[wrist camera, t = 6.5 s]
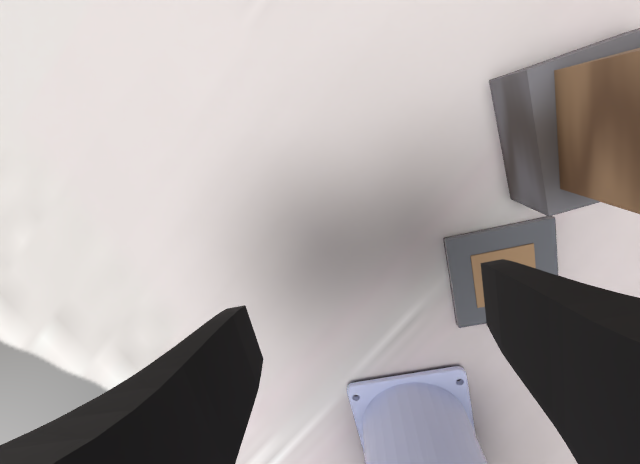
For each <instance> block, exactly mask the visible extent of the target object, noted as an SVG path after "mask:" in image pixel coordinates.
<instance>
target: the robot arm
mask: <svg viewBox="0 0 640 464" xmlns="http://www.w3.org/2000/svg"><path fill="white" fill-rule="evenodd" d="M481 273H482V283H483V293H484V303H485V313H486V323H487V325H488V327H489V329H490V331H491V333H492V335H493V337H494V339H495V341H496V343H497V345H498V346H499V348H500V350H501V352H502V354H503V355H504V356H505V358H506V359H507V361H508V362H509V364H510V365H511V366H512V368H513V369H514V371H515V372H516V373H517V375H518V376H519V378H520V379H521V380H522V382H523V383H524V384H525V386H526V387H527V389H528V390H529V391H530V393H531V394H532V395H533V397H534V398H535V400H536V401H537V402H538V404H539V405H540V407H541V408H542V409H543V411H544V412H545V413H546V415H547V416H548V418H549V419H550V420H551V422H552V423H553V425H554V426H555V428H556V429H557V431H558V432H559V434H560V435H561V437H562V438H563V440H564V441H565V443H566V444H567V446H568V448H569V449H570V451H571V453H572V454H573V456H574V458H575V459H576V461H577V463H578V464H640V298H637V297H633V296H629V295H625V294H620V293H617V292H613V291H609V290H605V289H602V288H598V287H594V286H591V285H587V284H584V283H580V282H577V281H574V280H570V279H567V278H564V277H561V276H558V275H554V274H551V273H548V272H545V271H542V270H539V269H536V268H533V267H530V266H527V265H523V264H520V263H517V262H513V261H509V260H505V259H500V260H495V261H489V262H484V263H481ZM262 364H263V357H262V354H261V351H260V348H259V345H258V342H257V339H256V336H255V333H254V330H253V327H252V324H251V321H250V318H249V315H248V312H247V309H246V306H240V307H234V308H228V309H226V310H224V311H222V312H221V313H219V314H218V315H216V316H215V317H213V318H212V319H211V320H209V321H208V322H206V323H205V324H204V325H202V326H201V327H200V328H199V329H197V330H196V331H195V332H193V333H192V334H191V335H189V336H188V337H187V338H185V339H184V340H183V341H181V342H180V343H179V344H177V345H176V346H175V347H173V348H172V349H171V350H169V351H168V352H166V353H165V354H164V355H162V356H161V357H159V358H158V359H157V360H155V361H154V362H152V363H151V364H150V365H148V366H147V367H145V368H144V369H142V370H141V371H139V372H138V373H136V374H135V375H133V376H132V377H130V378H129V379H127V380H125V381H124V382H122V383H120V384H119V385H117V386H115V387H114V388H112V389H111V390H109V391H107V392H106V393H104V394H102V395H100V396H99V397H97V398H95V399H93V400H91V401H89V402H87V403H86V404H84V405H82V406H80V407H78V408H76V409H75V410H73V411H71V412H69V413H67V414H65V415H63V416H61V417H60V418H58V419H56V420H54V421H52V422H49V423H47V424H46V425H43V426H41V427H39V428H37V429H35V430H33V431H31V432H29V433H27V434H24V435H22V436H20V437H18V438H16V439H13V440H11V441H9V442H7V443H5V444H2V445H0V464H235V462H236V459H237V456H238V453H239V449H240V446H241V443H242V440H243V437H244V434H245V430H246V427H247V424H248V421H249V418H250V415H251V411H252V408H253V405H254V402H255V398H256V395H257V392H258V388H259V382H260V377H261V371H262ZM458 379H461V380H460V381H457V380H458ZM347 394H348V397H349V401H350V404H351V408H352V412H353V415H354V419H355V422H356V426H357V429H358V433H359V437H360V440H361V444H362V447H363V451H364V454H365V464H488V463H487V461H486V458H485V456H484V454H483V451H482V449H481V447H480V444H479V442H478V440H477V437H476V434H475V427H474V421H473V414H472V407H471V401H470V394H469V388H468V381H467V374H466V372H465V370H464V369H463V368H462V367H460V366H455V367H448V368H442V369H436V370H429V371H423V372H417V373H410V374H404V375H398V376H391V377H385V378H379V379H372V380H366V381H360V382H353V383H350V384H349V385H348V386H347ZM353 395H358V396H357V397H355V396H353Z"/></svg>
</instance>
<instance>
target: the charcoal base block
mask: <svg viewBox="0 0 640 464" xmlns="http://www.w3.org/2000/svg"><path fill="white" fill-rule="evenodd" d="M637 48H640V28H638V29H635V30H632V31H629V32H626V33H623V34H620V35H617V36H614V37H612V38H609V39H606V40H603V41H600V42H597V43H594V44H592V45H589V46H586V47H583V48H580V49H577V50H575V51H572V52H569V53H566V54H563V55H560V56H558V57H555V58H552V59H549V60H546V61H543V62H540V63H538V64H535V65H532V66H529V67H526V68H523V69H521V70H518V71H515V72H512V73H509V74H506V75H503V76H501V77H498V78H495V79H492V80H489V83H490V88H491V94H492V99H493V105H494V110H495V116H496V121H497V127H498V132H499V138H500V143H501V149H502V154H503V160H504V165H505V171H506V176H507V181H508V187H509V192H510V198H511V199H512V200H514V201H517V202H519V203H521V204H523V205H525V206H528V207H530V208H532V209H534V210H536V211H538V212H541V213H543V214H545V215H547V216H552V215H556V214H559V213H563V212H566V211H570V210H573V209H577V208H580V207H584V206H588V205H591V204H595V203H598V202H600V201H597V200H594V199H590V198H587V197H584V196H581V195H578V194H575V193H571V192H568V191H565V190H562V189H560V175H559V155H558V136H557V117H556V98H555V78H554V71H555V70H558V69H562V68H566V67H570V66H573V65H577V64H581V63H584V62H588V61H592V60H596V59H599V58H603V57H607V56H611V55H614V54H618V53H622V52H625V51H629V50H633V49H637Z"/></svg>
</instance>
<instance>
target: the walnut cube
mask: <svg viewBox="0 0 640 464" xmlns="http://www.w3.org/2000/svg"><path fill="white" fill-rule="evenodd" d="M554 78H555V98H556V117H557V136H558V155H559V175H560V189H562V190H565V191H568V192H571V193H575V194H578V195H581V196H584V197H587V198H590V199H594V200H597V201H600V202H603V203H606V204H609V205H613V206H616V207H619V208H622V209H625V210H628V211H632V212H635V213H638V214H640V48H637V49H633V50H629V51H625V52H622V53H618V54H614V55H611V56H607V57H603V58H599V59H596V60H592V61H588V62H584V63H581V64H577V65H573V66H570V67H566V68H562V69H558V70H555V71H554Z"/></svg>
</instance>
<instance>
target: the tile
mask: <svg viewBox="0 0 640 464" xmlns="http://www.w3.org/2000/svg"><path fill="white" fill-rule="evenodd" d="M444 243H445V250H446V257H447V263H448V270H449V276H450V283H451V289H452V296H453V302H454V309H455V315H456V322H457V325H458V327H459V328H461V327H467V326H473V325H479V324H484V323H486V313H485V303H484V293H483V283H482V273H481V263H484V262H489V261H495V260H500V259H505V260H509V261H513V262H517V263H520V264H523V265H527V266H530V267H533V268H536V269H539V270H542V271H545V272H548V273H551V274H554V275H558V263H557V244H556V224H555V217H552V216H548V217H543V218H538V219H534V220H529V221H524V222H519V223H514V224H510V225H505V226H500V227H495V228H490V229H486V230H481V231H476V232H471V233H466V234H462V235H457V236H452V237H447V238H444Z"/></svg>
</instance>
